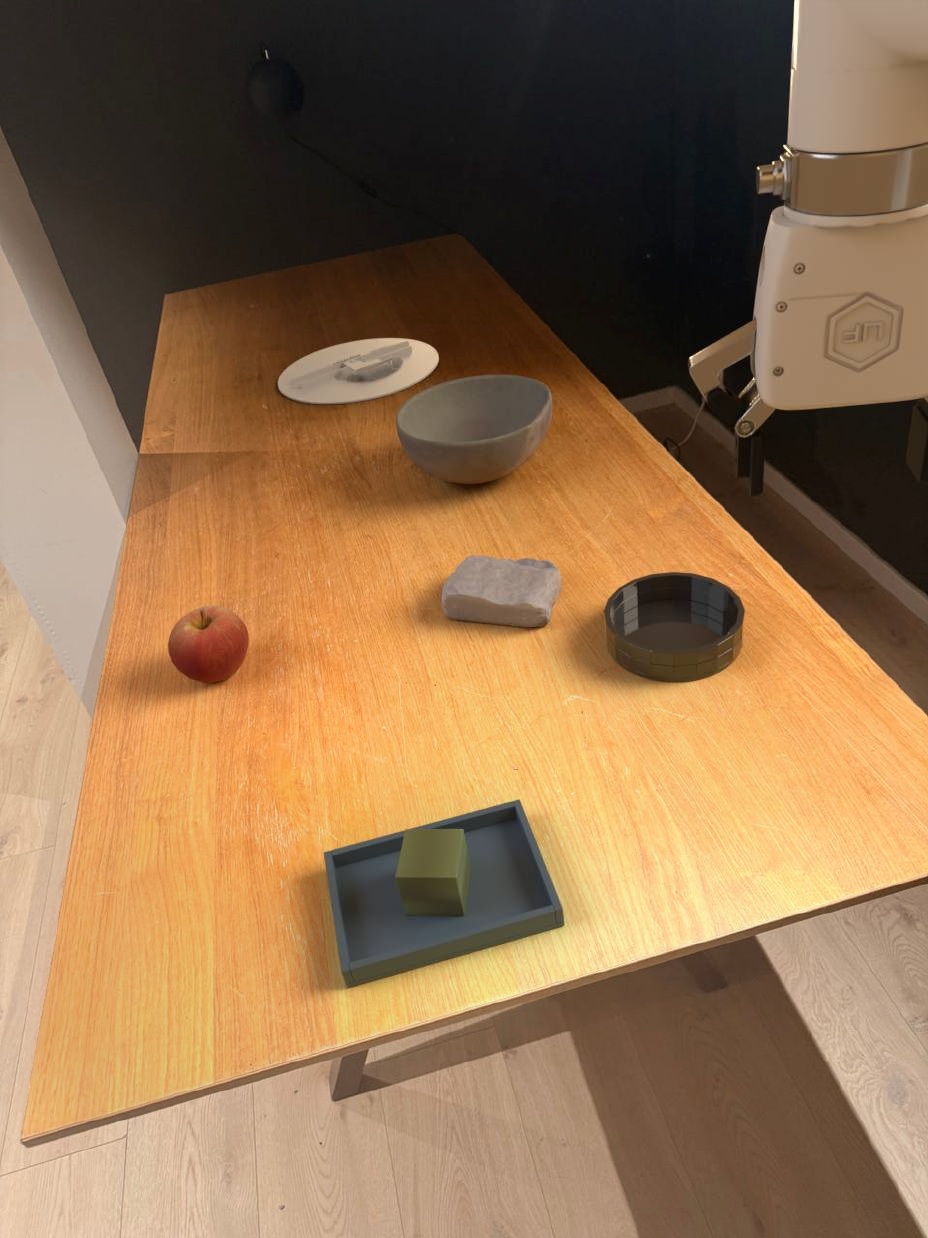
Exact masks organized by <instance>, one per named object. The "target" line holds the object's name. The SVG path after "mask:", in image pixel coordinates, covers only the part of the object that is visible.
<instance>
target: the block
mask: <svg viewBox="0 0 928 1238" xmlns="http://www.w3.org/2000/svg"><path fill="white" fill-rule="evenodd" d="M404 830H405V833H404V838H403V843H402V847H401V852H400V857H399V862H398V866H397V871H396V876H395V878H396V881H397V885H398V889H399V893H400V896H401V900H402V904H403V908H404V911H405V915H419V916H464V915H465V908H466V901H467V893H468V886H469V878H470V871H471V866H470V860H469V855H468V850H467V845H466V840H465V834H464V830H463V829H411V828H405V829H404Z"/></svg>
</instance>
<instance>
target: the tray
mask: <svg viewBox="0 0 928 1238" xmlns="http://www.w3.org/2000/svg"><path fill="white" fill-rule="evenodd" d="M410 829H463V830H464V834H465V840H466V845H467V850H468V855H469V860H470V866H471V871H470V878H469V886H468V893H467V901H466V908H465V915H464V916H419V915H405V911H404V908H403V904H402V900H401V896H400V893H399V889H398V885H397V881H396V878H395V876H396V871H397V866H398V862H399V857H400V852H401V847H402V843H403V838H404V833H405V829H404V830H400V831H397V832H393V833H389V834H386V835H382V836H379V837H375V838H371V839H367V840H363V841H360V842H356V843H352V844H349V845H345V846H342V847H337V848H333V849H331V850H326V851H323V859H324V865H325V871H326V878H327V885H328V891H329V899H330V904H331V910H332V918H333V924H334V931H335V939H336V945H337V951H338V952H337V953H338V957H339V958H338V959H339V965H340V972H341V975H342V978H343V981H344V983H345V987H346V988H347V989H350V988H354V987H357V986H359V985H364V984H367V983H371V982H374V981H378V980H381V979H384V978H388V977H391V976H394V975H399V974H402V973H405V972H409V971H412V970H415V969H419V968H423V967H426V966H429V965H430V966H431V965H433V964H436V963H439V962H443V961H446V960H451V959H454V958H457V957H461V956H464V955H467V954H470V953H474V952H478V951H481V950H485V949H488V948H491V947H495V946H498V945H502V944H505V943H506V944H507V943H510V942H514V941H515V940H519V939H523V938H527V937H530V936H533V935H537V934H540V933H545V932H547V931H550V930H554V929H558V928H560V927H561V928H562V927H564V926H565V915H564V908H563V905H562V903H561V901H560V898H559V895H558V892H557V890H556V887H555V885H554V882H553V879H552V878H551V875H550V871H549V869H548V867H547V865H546V862H545V860H544V858H543V855H542V852H541V850H540V847H539V844H538V842H537V839H536V837H535V834H534V832H533V829H532V827H531V824H530V822H529V819H528V816H527V815H526V812H525V809H524V807H523V804H522V801H521V799H519V798H518V799H515V800H513V801H512V800H511V801H507V802H504V803H503V802H502V803H500V804H496V805H493V806H488V807H485V808H482V809H478V810H473V811H471V812H467V813H462V814H459V815H456V816H455V815H454V816H452V817H449V818H445V819H441V820H437V821H435V822H430V823H426V824H423V825H422V824H421V825H419V826H415V827H412V828H410Z"/></svg>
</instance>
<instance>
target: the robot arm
mask: <svg viewBox="0 0 928 1238" xmlns="http://www.w3.org/2000/svg"><path fill="white" fill-rule="evenodd" d="M790 65H791V66H790V85H789V103H788V125H787V127H788V128H787V141H786V144H785V143H784V144H783V154H779V159H778V160H774V161H772V162H771V164H764V165H757V167H756V171H755V190H756V193H757V194H756V195H763V194H770V193H771V195H772V196H779V198H780V199H781V200H782V201H783V205H780V206H777V207H776V208H774V209H773V210H772V211H771V214H770V216H769V217H770V218H769V222H768V225H767V230H766V232H765V233H766V234H765V237H764V241H763V247H762V251H761V256H760V262H759V268H758V276H757V283H756V289H755V290H756V291H755V299H754V307H753V315H752V320H751V321H749V322H747V323H746V324H744V325H743V326H741V327H739V328H737V329H736V330H734V331H732V332H730V333H729V334H727V335H725V336H724V337H721V338H720V339H718V340H717V341H715V342H713V343H712V344H709V345H708V346H706V347H705V348H703V349H702V350H700V351H698V352H696V353H694V354H693V355H692V356H690V357H689V359H688V360H687V368H688V372H689V376H690V377H691V379H692V381H693V382H694V384H695V386H696V387H697V389H698V391H699V393H700V394H701V396H702V397H703V398H704V399H703V400H705V402H706V404H707V407H708V408H709V410H711V412H713V413H714V414H715V415H717V417H719V418H720V419H721V420H723V421H724V422H725V423H726V424H727V425H729V426H730V428H732V429H734V451H733V452H734V453H733V467H734V468H733V470H734V474H735V478H736V479H738V480H739V479H744V481H745V485H746V488H747V492H748V494H749V497H750V498H755V497H756V498H757V497H760V495H763V493H764V492H763V491H764V479H765V478H764V477H765V473H764V472H765V456H766V436H765V434H764V431H763V428H762V425H763V424H764V423H765V422H766V421H767V420H768V418H769V417H771V415H772V414H773V413H774V412H775V411H776V410H783V411H802V410H816V409H827V408H839V407H850V406H861V405H871V404H872V405H873V404H883V403H884V404H885V403H894V402H895V403H896V402H903V401H904V402H905V401H913V400H916V404H914V405H913V407H912V414H911V421H910V427H909V435H908V441H907V448H906V454H905V461H906V464H907V466H908V467H909V469H910V471H911V472H912V474H913V476H914V478H915V479H916V480H917V482H918V483H921V484H922V485H927V484H928V0H794V6H793V27H792V46H791V64H790ZM748 356H749V357H750V358H749V359H750V371H751V375H752V376H753V378H752V379H751V381H750V382H748V383H747V385H746V386H745V387H744V389H743V390H742V391H740V393H739V394H736V393H735V392H734V391H732V389H730V388H729V387H728V386H727V385H725V384H724V383H723V382H722V380H721V378H720V374H721V373H722V371H724V370H726V369H727V368H729V367H730V366H732V365H734V364H736V363H737V362H739V361H742V360H743V359H744V358H746V357H748Z"/></svg>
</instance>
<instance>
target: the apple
mask: <svg viewBox="0 0 928 1238" xmlns="http://www.w3.org/2000/svg"><path fill="white" fill-rule="evenodd" d="M170 631H171V632H170V634H169V638H168V642H167V651H168V655H169V658H170V660H171V662H172V664H173V666H174V667H175V668H176V669H177V670H178V671H179V672H180V673H181V674H182V675H184V676H185V677H186V678H187V679H189V680H192V681H195V682H199V683H207V684H208V683H215V682H216V683H217V682H222V681H226V680H228V679H229V678H231V677H232V676H234V675H235V673H237V672H238V670H239V669H241V666H242V665H243V663H244V662H245V660H246V657H247V653H248V649H249V643H250V636H249V631H248V628H247V626H246V624H245V622H244V621H243V620H242V619H241V617H240V616H238V614H236V612H234V611H233V610H231V609H230V608H228V607H225V606H223V605H217V604H209V605H204V606H201V607H199V608H197V609H196V608H195V609H193V610H192V611H191V610H190V612H188V613H186V614H185V615H183V616H182V617H181V618H179V620H178V621H177V622H176V623H175V624H174V626H173V627H172V629H171V630H170Z"/></svg>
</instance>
